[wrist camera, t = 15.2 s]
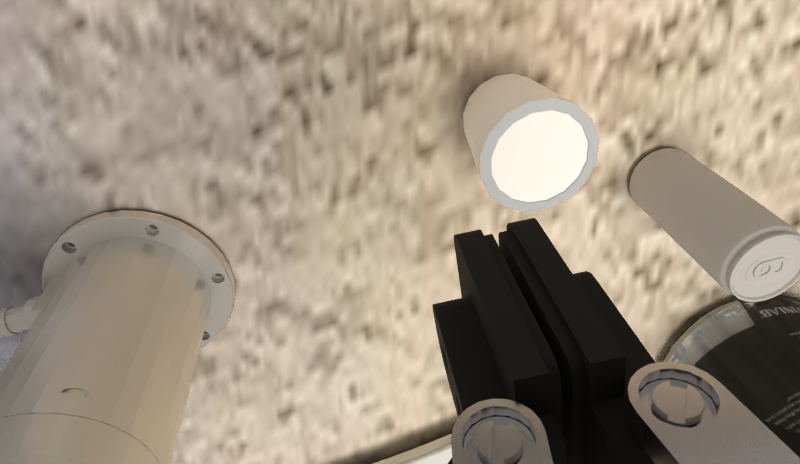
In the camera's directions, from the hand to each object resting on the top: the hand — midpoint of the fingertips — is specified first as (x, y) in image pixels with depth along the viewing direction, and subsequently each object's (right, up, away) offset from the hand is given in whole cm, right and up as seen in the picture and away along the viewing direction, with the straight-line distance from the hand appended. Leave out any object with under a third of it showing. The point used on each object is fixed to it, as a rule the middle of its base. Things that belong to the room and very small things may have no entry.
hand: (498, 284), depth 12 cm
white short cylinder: (+5, +9, +25) cm, 27 cm away
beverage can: (+17, +5, +29) cm, 34 cm away
